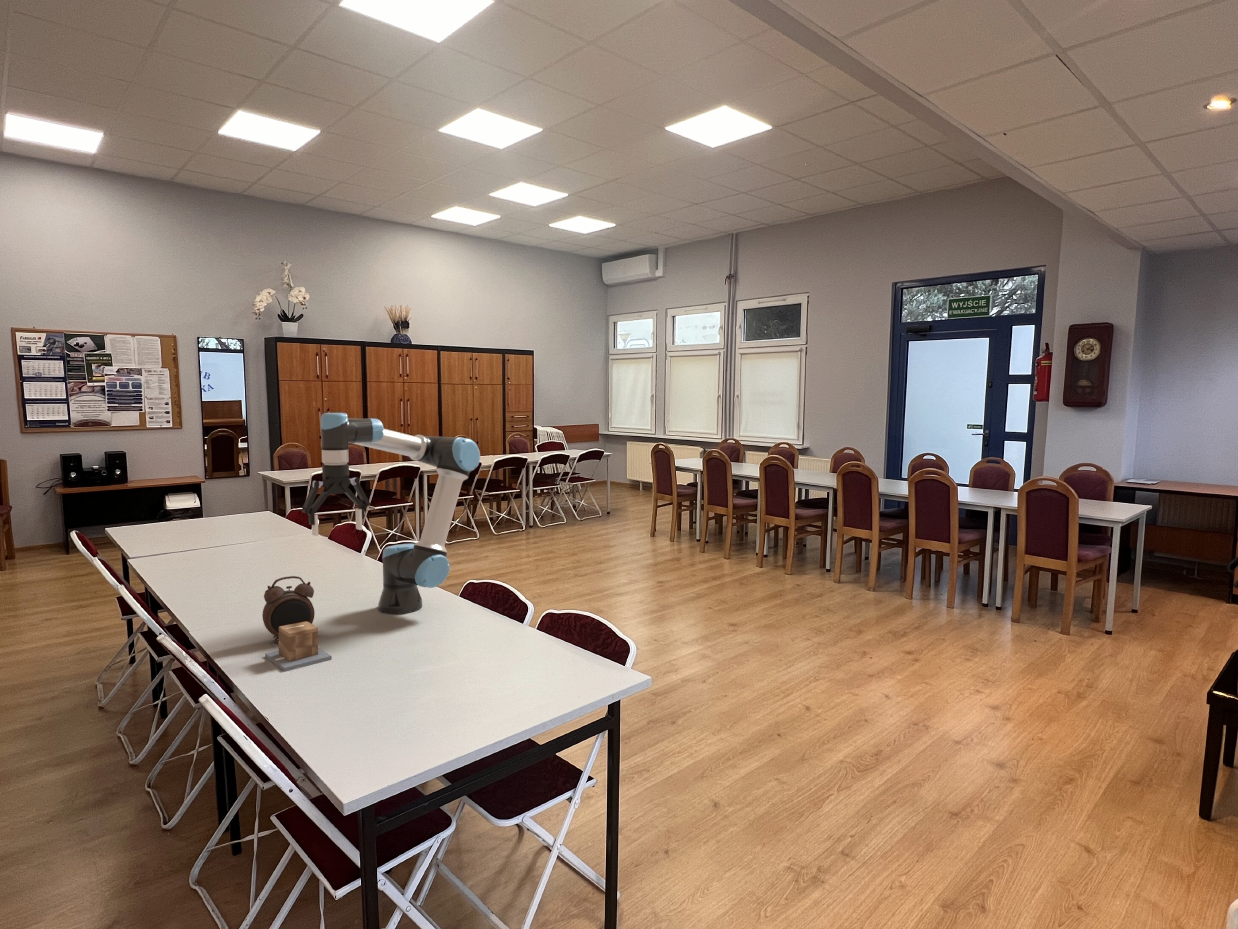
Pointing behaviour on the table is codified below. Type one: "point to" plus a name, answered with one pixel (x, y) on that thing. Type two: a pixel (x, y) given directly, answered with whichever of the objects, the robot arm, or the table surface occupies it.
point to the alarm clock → (287, 606)
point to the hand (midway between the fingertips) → (337, 532)
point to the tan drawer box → (298, 640)
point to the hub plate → (298, 663)
